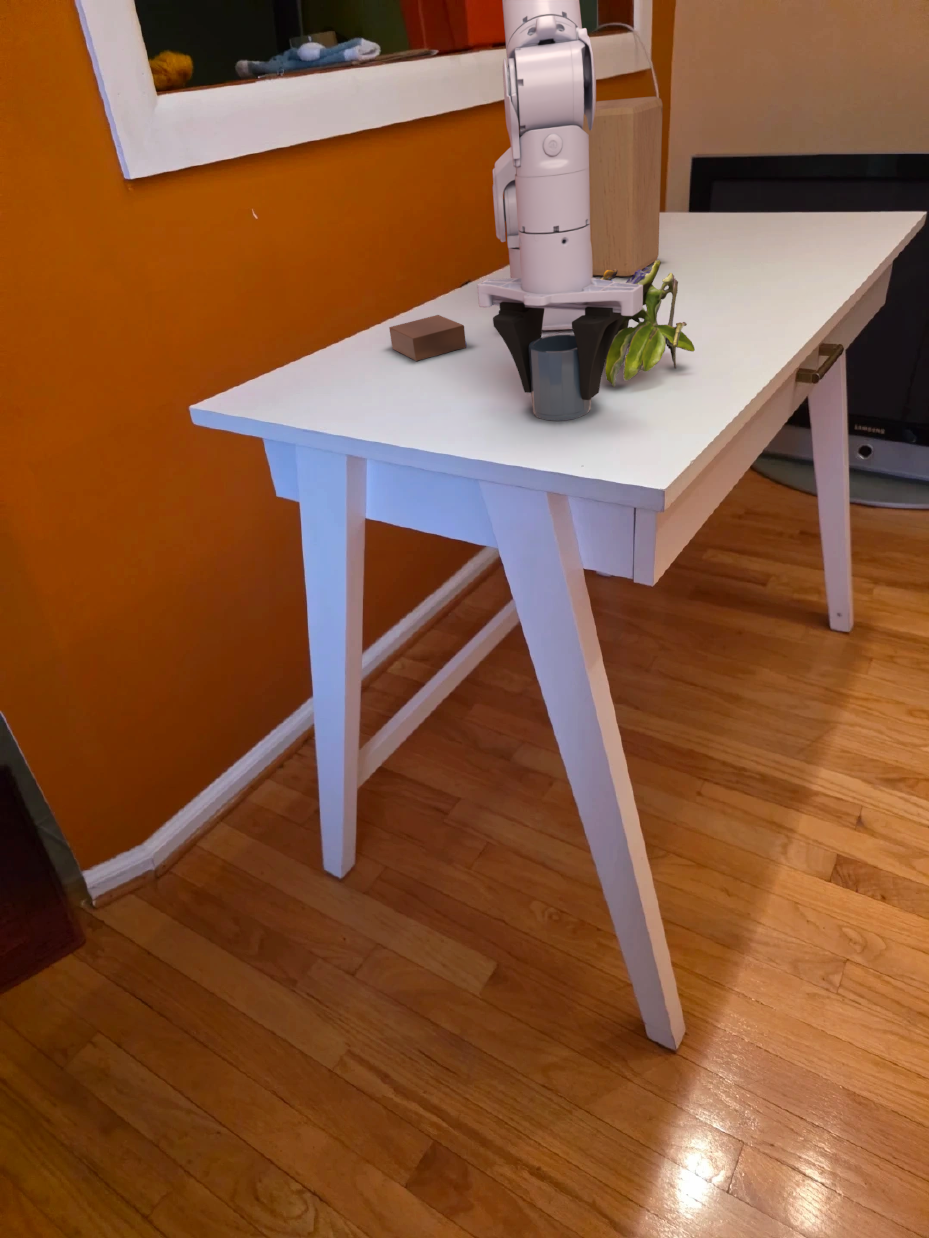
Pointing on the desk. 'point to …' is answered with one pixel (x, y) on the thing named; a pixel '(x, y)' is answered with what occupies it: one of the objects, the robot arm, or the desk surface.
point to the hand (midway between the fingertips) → (560, 392)
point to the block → (427, 337)
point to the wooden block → (625, 184)
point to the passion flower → (645, 329)
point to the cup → (556, 378)
